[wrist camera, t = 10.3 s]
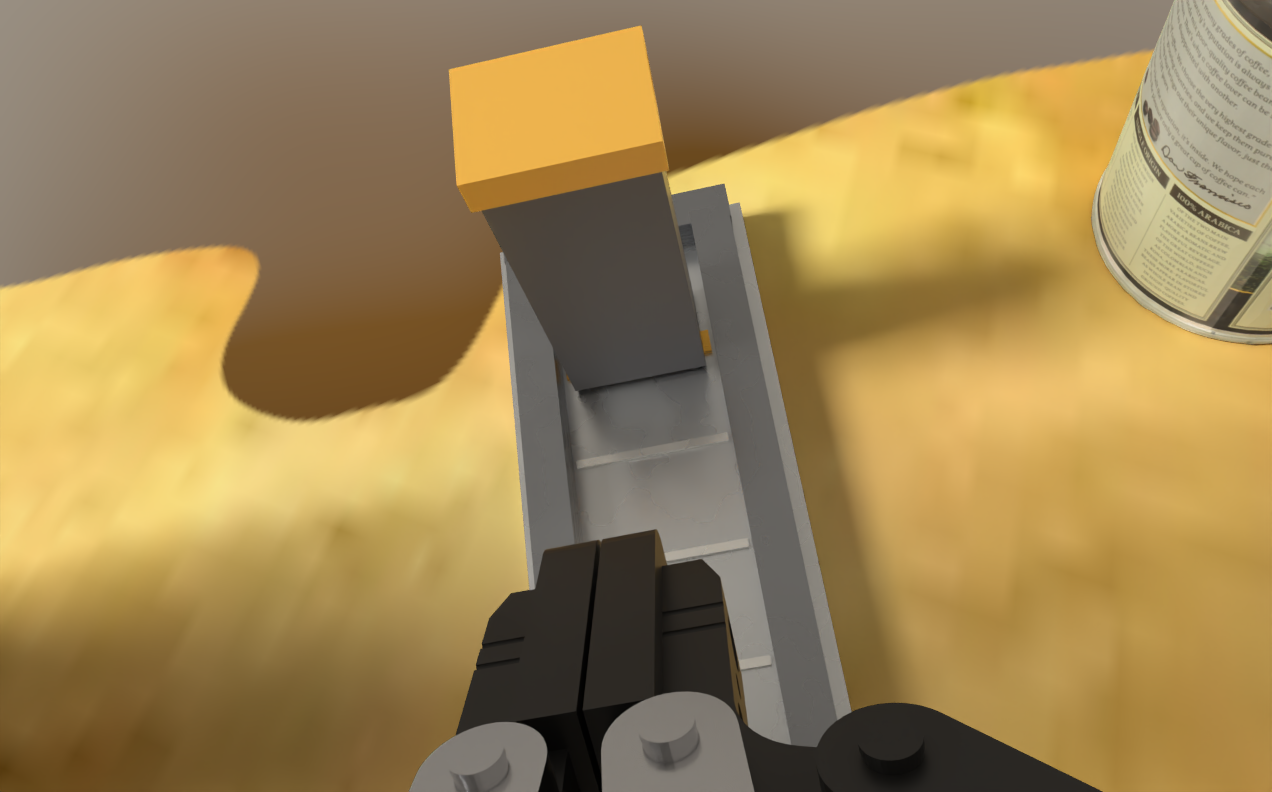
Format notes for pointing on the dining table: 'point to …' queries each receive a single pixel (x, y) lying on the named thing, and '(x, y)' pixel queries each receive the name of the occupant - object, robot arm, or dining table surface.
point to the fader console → (691, 473)
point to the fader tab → (581, 202)
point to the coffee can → (1197, 175)
